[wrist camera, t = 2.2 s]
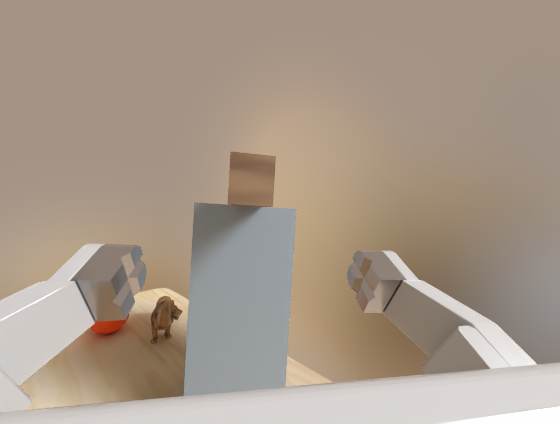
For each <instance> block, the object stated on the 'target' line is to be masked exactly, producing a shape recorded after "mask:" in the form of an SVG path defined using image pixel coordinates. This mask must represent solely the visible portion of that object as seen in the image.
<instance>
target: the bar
mask: <svg viewBox="0 0 560 424" xmlns="http://www.w3.org/2000/svg"><path fill="white" fill-rule="evenodd" d="M275 159H276V157H275V156H267V155H258V154H248V153H239V152H231V155H230V172H229V189H228V204H230V205H239V206H255V207H272V206H273V193H274V176H275Z"/></svg>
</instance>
